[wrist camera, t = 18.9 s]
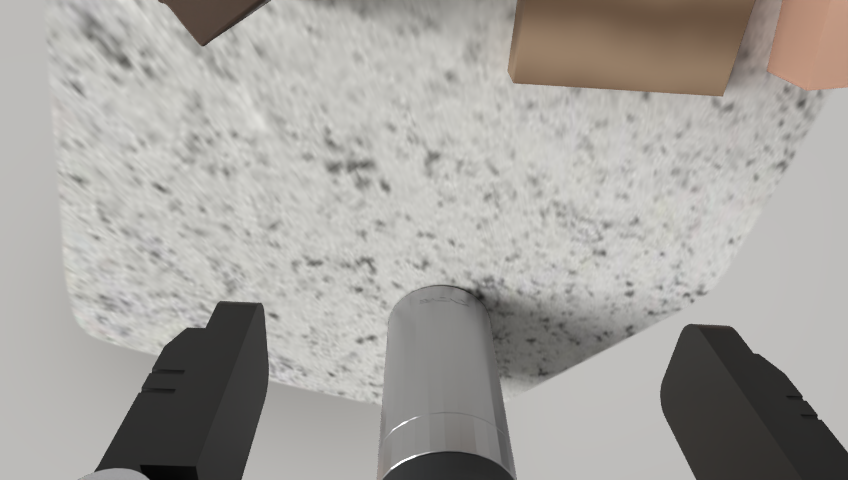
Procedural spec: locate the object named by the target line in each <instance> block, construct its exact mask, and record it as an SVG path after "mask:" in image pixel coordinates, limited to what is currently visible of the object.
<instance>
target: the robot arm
mask: <svg viewBox="0 0 848 480" xmlns="http://www.w3.org/2000/svg"><path fill="white" fill-rule="evenodd" d="M268 376H269V363H268V351H267V339H266V327H265V315H264V308H263V305H262V303H251V302H230V301H220V302H219V303H218V304H217V306H216V308H215V310H214V312H213V314H212V316H211V318H210V320H209V322H208V324H207V326H206V328H186V329H185V330H184V331H182V332H181V333H180V334H179V335H178V336H176V337H175V338H174V339H173V340H172V341H170V342H169V343H168V344H167V345H166V346H165V347H164V348H163V350H162V352H161V354H160V356H159V357H158V359H157V361H156V363H155V365H154V366H153V368H152V373H150V374H149V376H148V377H147V379H146V381H145V383H144V384H143V386H142V391H141V393H138V395H137V397H136V399H135V401H134V402H133V404H132V406H131V408H130V410H129V411H128V413H127V415H126V417H125V419H124V420H123V422H122V424H121V426H120V428H119V429H118V431H117V433H116V435H115V437H114V439H113V440H112V442H111V444H110V446H109V447H108V449H107V451H106V453H105V455H104V456H103V458H102V460H101V462H100V464H99V466H98V467H97V468H96V470H95V471H94V473H91V474H89V475H86V476H84V477H82V478H80V479H78V480H241V479H242V476H243V473H244V469H245V466H246V462H247V459H248V456H249V452H250V449H251V445H252V442H253V439H254V435H255V432H256V428H257V425H258V421H259V418H260V415H261V411H262V408H263V404H264V401H265V397H266V392H267V386H268ZM802 397H803V396H802V395H801V393H800V392H799V391H798V390H797V388H796V387H795V386H794V385H793V383H792V382H791V381H790V380H789V378H788V377H787V376H786V375H785V374H784V373H783V372H782V371H780V370H779V369H778V368H777V367H775V366H774V365H773V364H771V363H770V362H769V361H767V360H766V359H765V358H763V357H762V356H761V355H759V354H754V353H753V352H752V351H751V350H750V348H749V347H748V346H747V344H746V343H745V342H744V340H743V339H742V338H741V336H740V335H739V334H738V333H737V332H736V330H735V329H734V328H732V327H730V326H721V325H700V324H699V325H698V324H689V325H687V326H685V327H684V328H683V330H682V332H681V334H680V337H679V339H678V342H677V345H676V347H675V350H674V352H673V355H672V357H671V360H670V363H669V365H668V368H667V370H666V373H665V376H664V378H663V381H662V384H661V391H660V398H661V406H662V410H663V413H664V416H665V418H666V420H667V422H668V424H669V426H670V428H671V430H672V432H673V434H674V436H675V438H676V440H677V442H678V444H679V446H680V448H681V450H682V452H683V454H684V456H685V458H686V460H687V462H688V464H689V466H690V468H691V470H692V472H693V474H694V476H695V478H696V480H848V452H847V451H846V450H845V449H844V447H843V446H842V445H841V444H840V443H839V441H838V440H837V438H836V437H835V436H834V435H833V433H832V432H831V431H830V430H829V428H828V427H827V426H826V425H825V424H824V422H823V421H822V420H818V418H817V416H818V415H817V414H816V412H815V411H814V410H813V409H812V407H811V406H810V405H809V404H808V402H807V401H803V399H802ZM377 480H517V478H516V471H515V465H514V460H513V454H512V449H511V443H510V437H509V431H508V425H507V420H506V414H505V408H504V402H503V396H502V390H501V384H500V378H499V372H498V366H497V360H496V354H495V347H494V341H493V335H492V330H491V324H490V318H489V315H488V313H487V310H486V308H485V307H484V306H483V304H482V303H481V302H480V301H479V300H478V299H477V298H476V297H475V296H473V295H471V294H470V293H468V292H466V291H464V290H461V289H458V288H455V287H448V286H431V287H427V288H422V289H419V290H417V291H414V292H412V293H410V294H409V295H407V296H405V297H404V298H402V299H401V301H400V302H399V303H398V304H397V305H396V306H395V307H394V309H393V311H392V312H391V315H390V318H389V321H388V333H387V346H386V357H385V370H384V384H383V398H382V412H381V426H380V440H379V454H378V470H377Z"/></svg>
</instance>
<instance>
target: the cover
mask: <svg viewBox="0 0 848 480" xmlns="http://www.w3.org/2000/svg"><path fill="white" fill-rule="evenodd" d="M767 71H768V72H770V73H772V74H774V75H776V76H778V77H780V78H782V79H784V80H786V81H788V82H790V83H792V84H794V85H796V86H799V87H801V88H803V89H805V90H820V89H832V88H843V87H848V0H783V1H782V5H781V10H780V14H779V19H778V23H777V28H776V32H775V37H774V41H773V46H772V50H771V54H770V59H769V63H768V68H767Z"/></svg>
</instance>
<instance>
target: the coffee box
mask: <svg viewBox="0 0 848 480" xmlns="http://www.w3.org/2000/svg"><path fill="white" fill-rule="evenodd" d="M158 1H159V2H161V3H164V4H166V5H167V6H168V7H169V8H170V9H171V10H172V11H173V12H174V14H175V15H176V16H177V17H178V19H179V20H180V21H181V23H182V24H183V25H184V26H185V28H186V29H187V30H188V31H189V33H190V34H191V35H192V36H193V37H194V39H195V40H196V41H197V42H198V43H199V44H200V45H201V46H205V45H206V44H208V43H209V42H210V41H212V40H213V39H215V38H216V37H217V36H219V35H220V34H222V33H223V32H225V31H226V30H228V29H229V28H231V27H232V26H234V25H235V24H237V23H238V22H240V21H241V20H243V19H244V18H246V17H247V16H249V15H250V14H252V13H253V12H255V11H256V10H257V9H259V8H260V7H262V6H264V5H265V4H267V3H268V2H269V1H271V0H158Z"/></svg>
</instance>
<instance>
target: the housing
mask: <svg viewBox="0 0 848 480" xmlns="http://www.w3.org/2000/svg"><path fill="white" fill-rule="evenodd" d="M754 2H755V0H517V7H516V14H515V22H514V29H513V36H512V43H511V51H510V58H509V65H508V73H509V75H510V77H511V79H512V81H513V83H519V84H535V85H551V86H566V87H582V88H598V89H614V90H630V91H645V92H661V93H677V94H693V95H709V96H723V94H724V91H725V88H726V85H727V83H728V80H729V77H730V74H731V71H732V68H733V65H734V62H735V59H736V56H737V53H738V50H739V47H740V44H741V41H742V38H743V35H744V32H745V29H746V26H747V23H748V20H749V17H750V14H751V11H752V8H753V5H754Z"/></svg>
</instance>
